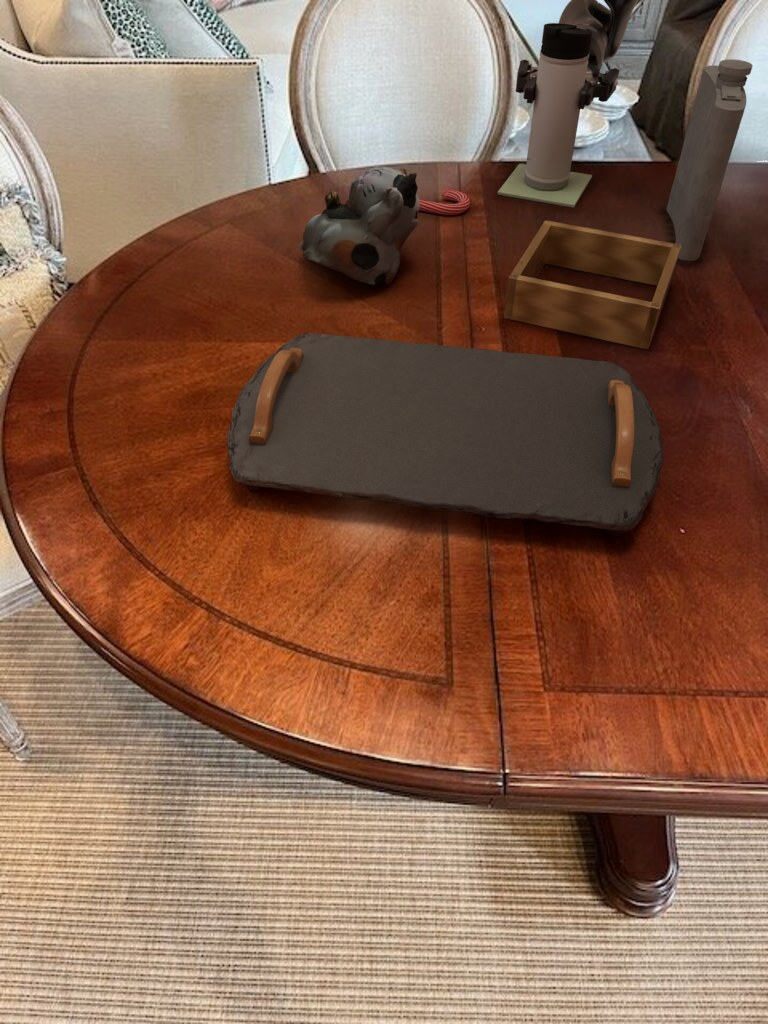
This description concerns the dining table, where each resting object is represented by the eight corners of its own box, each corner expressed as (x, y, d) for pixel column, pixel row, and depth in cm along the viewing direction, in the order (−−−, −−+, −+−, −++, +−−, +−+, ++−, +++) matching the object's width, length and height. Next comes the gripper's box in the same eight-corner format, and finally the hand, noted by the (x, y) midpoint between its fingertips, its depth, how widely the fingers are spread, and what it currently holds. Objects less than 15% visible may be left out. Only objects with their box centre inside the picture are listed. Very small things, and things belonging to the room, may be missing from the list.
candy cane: (376, 185, 113) (376, 175, 112) (475, 202, 109) (476, 191, 108) (359, 202, 109) (359, 192, 108) (461, 219, 105) (462, 209, 104)
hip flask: (665, 205, 108) (708, 41, 94) (696, 207, 108) (743, 43, 93) (673, 259, 97) (723, 83, 83) (707, 262, 97) (763, 86, 82)
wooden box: (670, 284, 93) (681, 244, 89) (648, 350, 83) (659, 308, 80) (539, 258, 97) (545, 220, 94) (503, 318, 88) (508, 277, 84)
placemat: (591, 177, 115) (592, 175, 114) (573, 207, 107) (574, 205, 107) (519, 165, 118) (519, 163, 117) (497, 194, 111) (497, 191, 110)
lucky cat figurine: (299, 242, 100) (340, 131, 94) (385, 280, 103) (431, 175, 97) (291, 265, 87) (338, 139, 81) (390, 308, 90) (442, 188, 84)
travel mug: (513, 181, 113) (531, 22, 98) (544, 169, 116) (566, 13, 101) (546, 196, 109) (569, 33, 95) (577, 182, 112) (604, 23, 98)
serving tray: (647, 388, 78) (663, 335, 74) (665, 560, 62) (686, 505, 58) (274, 350, 83) (267, 298, 79) (200, 501, 67) (187, 446, 63)
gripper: (529, 26, 112) (504, 61, 101) (631, 35, 109) (617, 72, 98) (523, 83, 118) (499, 122, 106) (620, 93, 114) (605, 134, 103)
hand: (556, 98), depth 102 cm, fingers closed on travel mug, 6 cm apart
